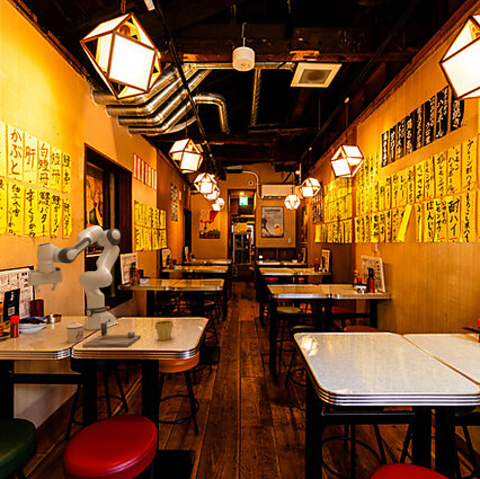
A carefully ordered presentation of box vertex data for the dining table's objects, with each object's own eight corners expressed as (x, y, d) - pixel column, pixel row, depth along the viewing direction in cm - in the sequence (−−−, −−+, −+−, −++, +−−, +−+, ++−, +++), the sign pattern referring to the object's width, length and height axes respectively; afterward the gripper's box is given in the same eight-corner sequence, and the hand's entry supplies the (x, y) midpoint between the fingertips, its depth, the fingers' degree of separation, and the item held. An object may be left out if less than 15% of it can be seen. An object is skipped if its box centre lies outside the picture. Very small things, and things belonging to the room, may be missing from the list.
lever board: (99, 338, 203) (99, 335, 203) (140, 337, 200) (140, 335, 200) (82, 347, 185) (82, 344, 185) (127, 347, 182) (127, 343, 182)
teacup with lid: (78, 343, 193) (77, 323, 193) (63, 343, 194) (63, 323, 194) (89, 337, 205) (89, 318, 205) (76, 337, 206) (75, 318, 206)
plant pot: (164, 342, 190) (164, 324, 190) (151, 339, 195) (151, 323, 195) (177, 337, 199) (176, 321, 199) (164, 335, 204) (163, 319, 204)
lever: (135, 335, 199) (135, 321, 199) (133, 337, 195) (133, 322, 195) (102, 336, 199) (102, 322, 199) (100, 338, 195) (99, 324, 195)
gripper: (31, 270, 196) (31, 294, 196) (63, 268, 214) (64, 289, 214) (25, 270, 199) (25, 293, 199) (57, 268, 217) (58, 289, 217)
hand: (45, 291), depth 206 cm, fingers open, 8 cm apart
